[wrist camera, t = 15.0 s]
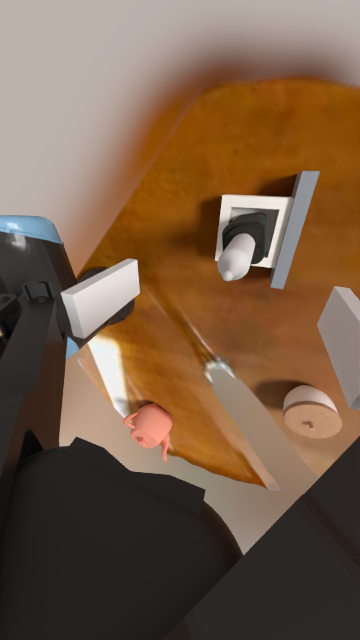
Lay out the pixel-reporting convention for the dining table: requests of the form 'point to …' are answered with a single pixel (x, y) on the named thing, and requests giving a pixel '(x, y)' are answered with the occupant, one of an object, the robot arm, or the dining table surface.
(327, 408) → the lidded jar
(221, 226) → the socket block
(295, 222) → the backstop wall
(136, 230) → the dining table surface
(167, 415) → the teapot
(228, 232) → the candle
